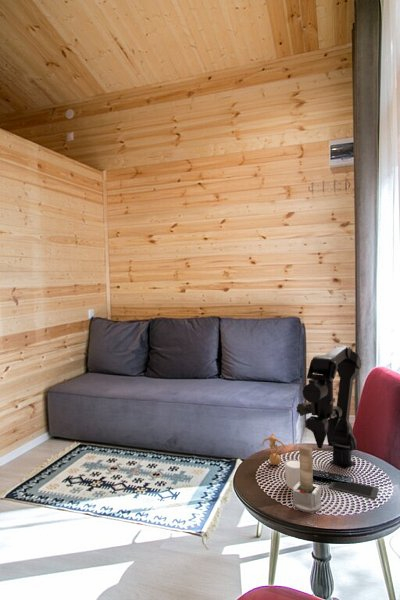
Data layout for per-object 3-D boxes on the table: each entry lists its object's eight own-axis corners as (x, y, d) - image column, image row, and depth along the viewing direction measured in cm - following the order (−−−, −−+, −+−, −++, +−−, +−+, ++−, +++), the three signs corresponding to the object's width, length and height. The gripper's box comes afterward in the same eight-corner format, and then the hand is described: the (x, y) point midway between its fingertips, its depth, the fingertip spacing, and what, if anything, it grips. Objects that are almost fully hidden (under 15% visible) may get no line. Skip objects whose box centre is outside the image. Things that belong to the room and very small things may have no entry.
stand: (299, 495, 125) (299, 477, 125) (325, 502, 121) (324, 484, 120) (288, 506, 119) (288, 488, 119) (315, 515, 114) (314, 496, 114)
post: (303, 484, 122) (302, 444, 122) (315, 487, 120) (314, 447, 120) (298, 489, 119) (297, 449, 119) (310, 493, 117) (309, 452, 117)
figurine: (287, 464, 147) (287, 431, 146) (284, 471, 141) (283, 437, 141) (265, 460, 150) (264, 428, 150) (260, 467, 145) (259, 434, 144)
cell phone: (375, 500, 122) (375, 498, 122) (328, 489, 129) (328, 487, 129) (379, 490, 128) (379, 487, 128) (333, 479, 135) (333, 477, 135)
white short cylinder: (307, 491, 128) (306, 469, 127) (284, 489, 129) (284, 468, 129) (305, 480, 134) (305, 459, 134) (284, 479, 136) (284, 458, 135)
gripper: (310, 386, 144) (310, 430, 144) (288, 398, 129) (289, 447, 129) (342, 390, 137) (342, 436, 138) (323, 403, 122) (324, 455, 123)
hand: (324, 443), depth 132 cm, fingers open, 9 cm apart
